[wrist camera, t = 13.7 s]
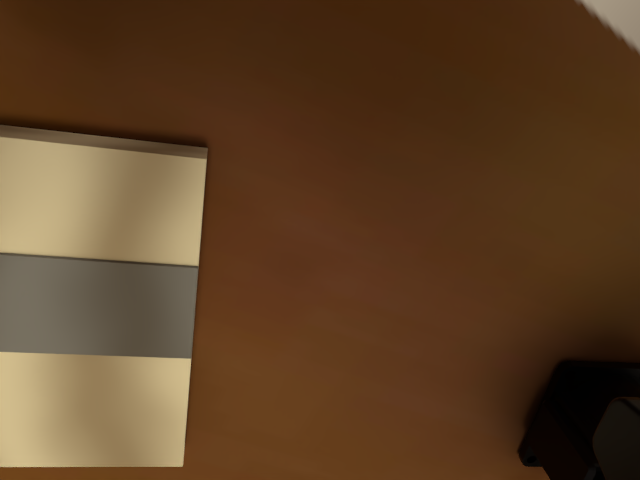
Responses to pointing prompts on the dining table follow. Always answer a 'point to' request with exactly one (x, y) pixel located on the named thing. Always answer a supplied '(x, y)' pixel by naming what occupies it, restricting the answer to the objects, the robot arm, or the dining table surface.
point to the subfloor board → (96, 298)
